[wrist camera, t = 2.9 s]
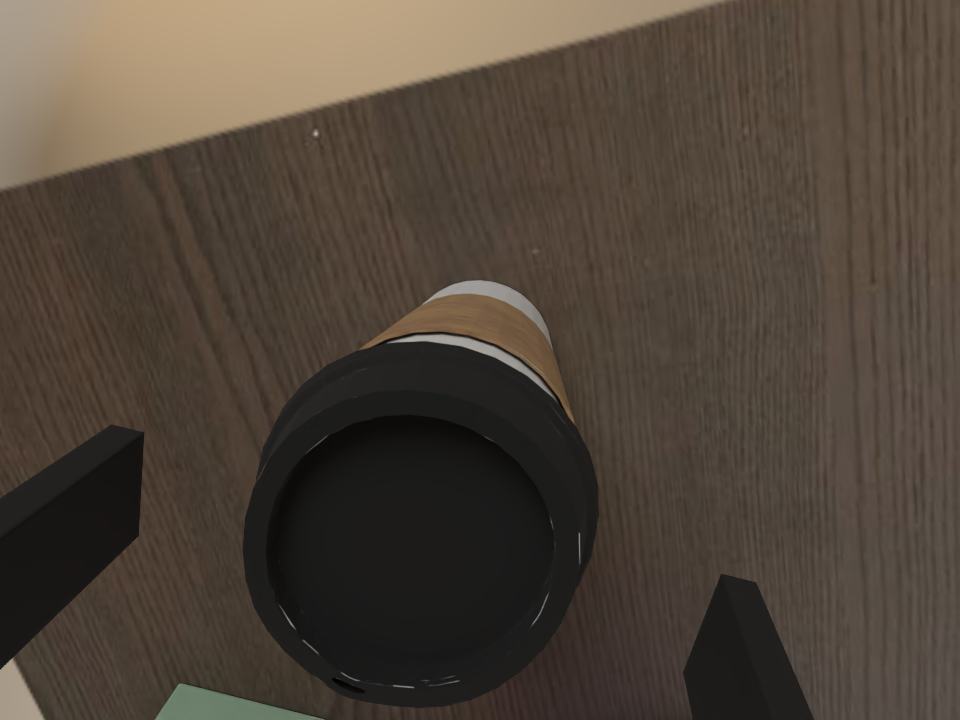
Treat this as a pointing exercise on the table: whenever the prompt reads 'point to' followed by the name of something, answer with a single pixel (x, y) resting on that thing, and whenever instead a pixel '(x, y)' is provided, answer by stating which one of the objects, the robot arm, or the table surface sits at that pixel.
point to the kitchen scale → (220, 707)
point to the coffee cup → (425, 506)
